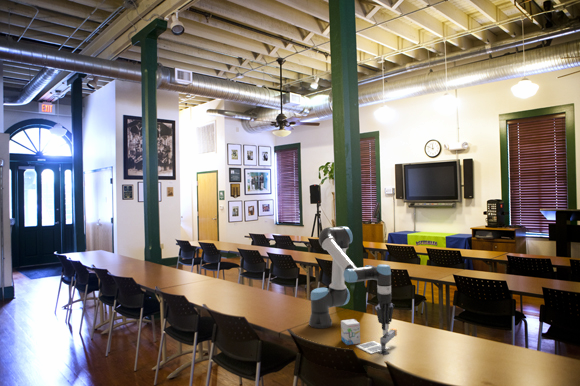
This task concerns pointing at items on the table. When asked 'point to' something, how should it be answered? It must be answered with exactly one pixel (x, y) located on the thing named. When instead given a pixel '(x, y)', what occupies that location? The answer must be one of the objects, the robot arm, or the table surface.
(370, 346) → the label plate
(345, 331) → the ink box
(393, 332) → the swing arm
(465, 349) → the table surface
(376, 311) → the robot arm
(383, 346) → the pivot post
